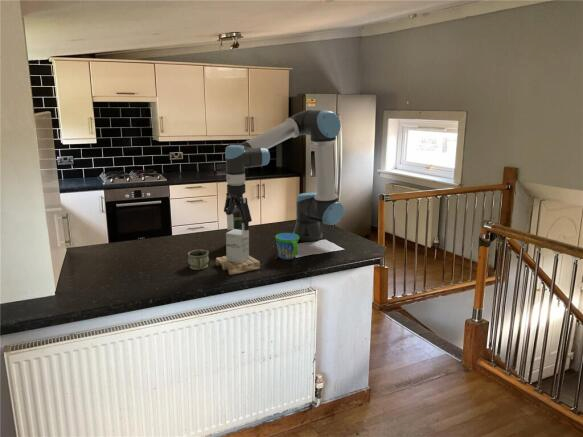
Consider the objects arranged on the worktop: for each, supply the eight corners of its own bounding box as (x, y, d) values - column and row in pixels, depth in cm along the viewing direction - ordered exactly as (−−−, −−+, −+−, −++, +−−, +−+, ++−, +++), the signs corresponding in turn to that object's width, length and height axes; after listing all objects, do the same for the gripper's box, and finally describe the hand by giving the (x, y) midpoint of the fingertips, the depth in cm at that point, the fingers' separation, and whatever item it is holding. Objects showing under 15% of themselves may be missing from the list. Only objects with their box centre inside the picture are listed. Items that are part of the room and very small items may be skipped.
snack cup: (305, 261, 206) (305, 239, 203) (283, 264, 201) (283, 242, 199) (290, 250, 219) (290, 230, 217) (269, 253, 215) (269, 232, 212)
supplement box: (225, 261, 196) (225, 232, 193) (234, 256, 203) (234, 228, 199) (241, 264, 193) (240, 235, 190) (249, 258, 200) (249, 230, 196)
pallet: (244, 258, 208) (244, 252, 207) (260, 268, 197) (260, 261, 196) (215, 264, 201) (215, 258, 200) (230, 274, 189) (230, 268, 189)
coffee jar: (250, 245, 226) (249, 208, 221) (235, 248, 221) (235, 211, 216) (240, 240, 233) (240, 204, 228) (226, 243, 229) (225, 206, 224)
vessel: (211, 270, 195) (211, 256, 193) (190, 272, 192) (189, 258, 190) (206, 260, 205) (205, 247, 204) (186, 263, 202) (185, 249, 201)
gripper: (214, 179, 197) (217, 227, 203) (242, 190, 177) (244, 242, 183) (230, 177, 201) (232, 224, 207) (259, 187, 181) (260, 239, 187)
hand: (237, 233), depth 195 cm, fingers open, 13 cm apart
